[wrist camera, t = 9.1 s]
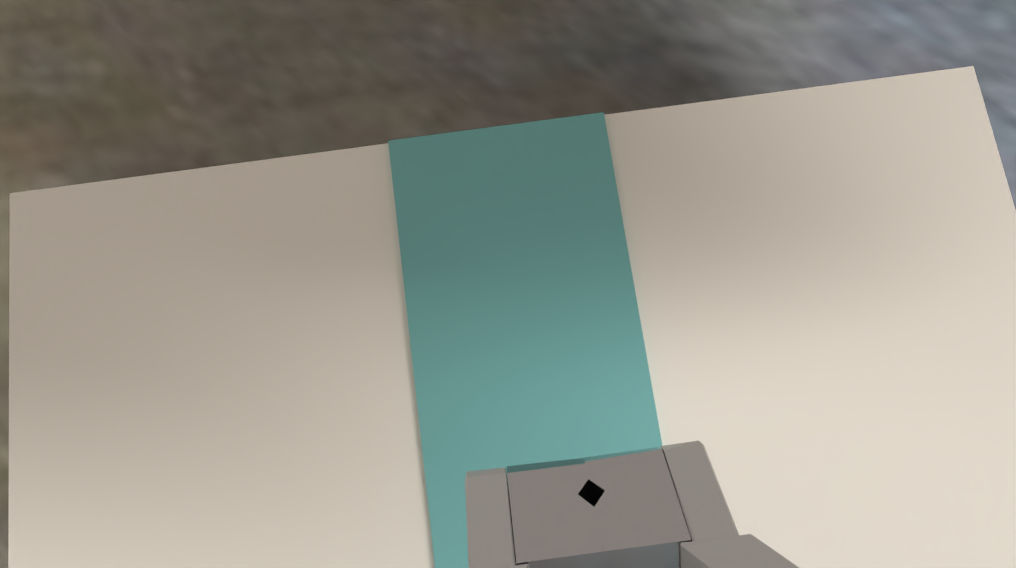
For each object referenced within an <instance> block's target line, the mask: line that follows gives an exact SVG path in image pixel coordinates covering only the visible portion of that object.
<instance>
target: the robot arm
mask: <svg viewBox="0 0 1016 568" xmlns="http://www.w3.org/2000/svg"><path fill="white" fill-rule="evenodd" d="M465 494H466V518H467V541H468V565H469V568H799V567H798V566H796V565H795V564H794V563H792V562H791V561H789V560H788V559H786V558H785V557H784V556H782V555H781V554H779V553H778V552H776V551H775V550H774V549H772V548H771V547H769V546H768V545H766V544H765V543H764V542H762V541H761V540H759V539H758V538H756V537H755V536H754V535H752V534H746V535H739V533H738V530H737V528H736V525H735V523H734V520H733V518H732V515H731V513H730V510H729V508H728V505H727V502H726V500H725V497H724V495H723V492H722V490H721V487H720V485H719V482H718V479H717V477H716V474H715V472H714V469H713V467H712V464H711V462H710V459H709V457H708V454H707V451H706V449H705V446H704V445H703V444H702V443H701V442H700V441H699V440H698V441H691V442H684V443H678V444H671V445H665V446H660V448H659V447H654V448H647V449H640V450H633V451H626V452H619V453H612V454H605V455H598V456H591V457H584V458H577V459H568V460H559V461H550V462H541V463H532V464H522V465H513V466H507V471H506V468H494V469H485V470H475V471H467V473H466V478H465Z"/></svg>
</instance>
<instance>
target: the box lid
mask: <svg viewBox="0 0 1016 568" xmlns="http://www.w3.org/2000/svg"><path fill="white" fill-rule="evenodd" d="M698 440H699V441H700V442H701V443H702V444H703V445H704V446H705V449H706V451H707V454H708V457H709V459H710V462H711V464H712V467H713V469H714V472H715V474H716V477H717V479H718V482H719V485H720V487H721V490H722V492H723V495H724V497H725V500H726V502H727V505H728V508H729V510H730V513H731V515H732V518H733V520H734V523H735V525H736V528H737V530H738V533H739V535H746V534H752V535H754V536H755V537H756V538H758V539H759V540H761V541H762V542H764V543H765V544H766V545H768V546H769V547H771V548H772V549H774V550H775V551H776V552H778V553H779V554H781V555H782V556H784V557H785V558H786V559H788V560H789V561H791V562H792V563H794V564H795V565H796V566H798V567H799V568H1016V210H1015V207H1014V203H1013V200H1012V197H1011V193H1010V190H1009V186H1008V183H1007V179H1006V176H1005V173H1004V169H1003V166H1002V162H1001V159H1000V155H999V152H998V149H997V145H996V142H995V138H994V135H993V131H992V128H991V125H990V121H989V118H988V114H987V111H986V107H985V104H984V101H983V97H982V94H981V90H980V87H979V84H978V80H977V77H976V73H975V70H974V66H970V67H963V68H955V69H948V70H940V71H932V72H925V73H917V74H910V75H902V76H895V77H887V78H879V79H872V80H864V81H857V82H849V83H842V84H834V85H826V86H819V87H811V88H804V89H796V90H788V91H781V92H773V93H766V94H758V95H751V96H743V97H735V98H728V99H720V100H713V101H705V102H698V103H690V104H682V105H675V106H667V107H660V108H652V109H645V110H637V111H629V112H622V113H614V114H607V115H604V112H601V113H594V114H586V115H578V116H571V117H563V118H556V119H548V120H541V121H533V122H525V123H518V124H510V125H503V126H495V127H487V128H480V129H472V130H465V131H457V132H450V133H442V134H434V135H427V136H419V137H412V138H404V139H397V140H389V141H388V143H387V144H379V145H372V146H364V147H357V148H349V149H342V150H334V151H326V152H319V153H311V154H304V155H296V156H288V157H281V158H273V159H266V160H258V161H251V162H243V163H235V164H228V165H220V166H213V167H205V168H198V169H190V170H182V171H175V172H167V173H160V174H152V175H145V176H137V177H129V178H122V179H114V180H107V181H99V182H91V183H84V184H76V185H69V186H61V187H54V188H46V189H38V190H31V191H23V192H16V193H10V239H9V550H8V568H469V565H468V541H467V518H466V494H465V478H466V473H467V471H475V470H485V469H494V468H506V471H507V466H513V465H522V464H532V463H541V462H550V461H559V460H568V459H577V458H584V457H591V456H598V455H605V454H612V453H619V452H626V451H633V450H640V449H647V448H654V447H659V448H660V446H665V445H671V444H678V443H684V442H691V441H698Z"/></svg>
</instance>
